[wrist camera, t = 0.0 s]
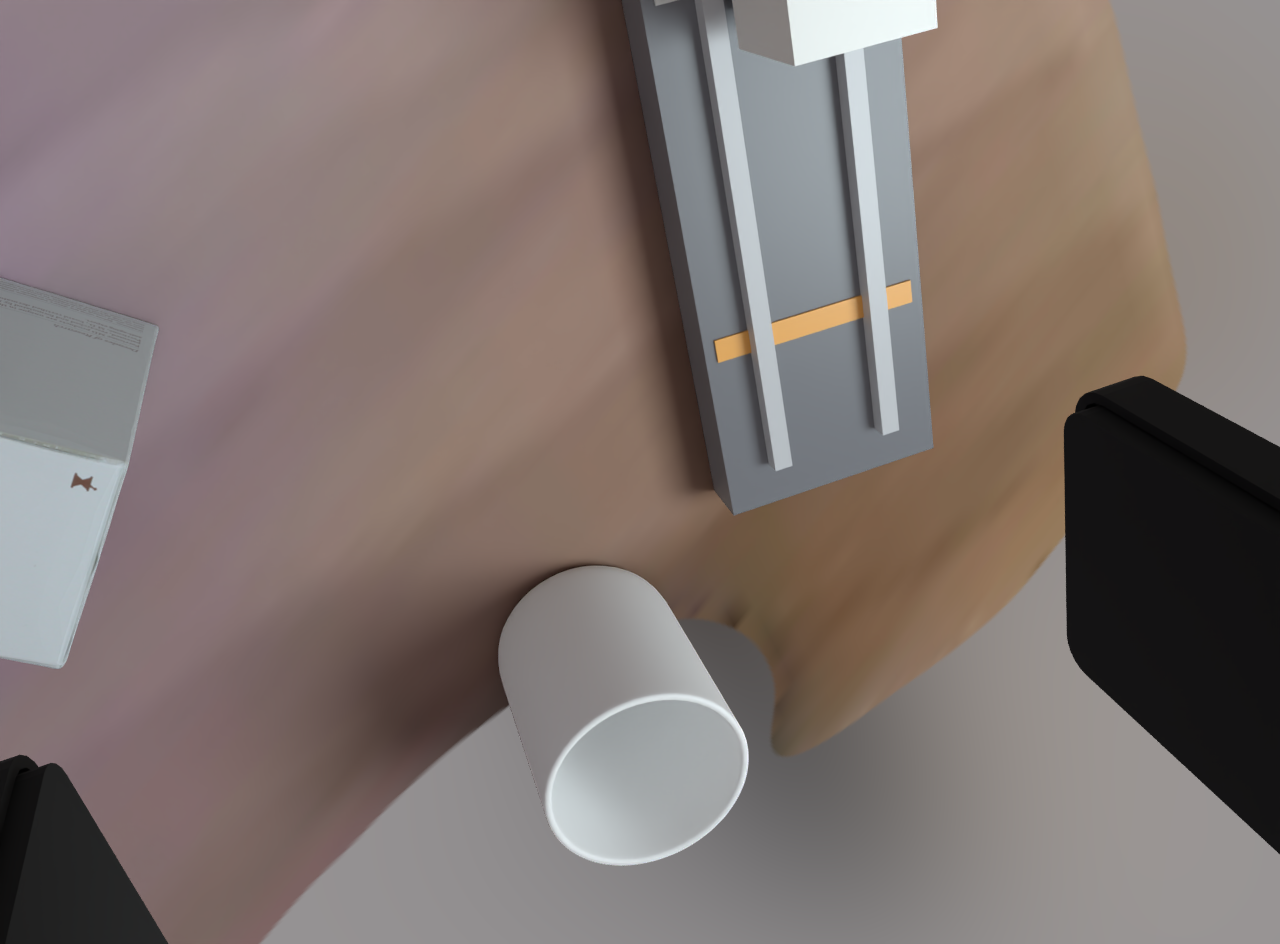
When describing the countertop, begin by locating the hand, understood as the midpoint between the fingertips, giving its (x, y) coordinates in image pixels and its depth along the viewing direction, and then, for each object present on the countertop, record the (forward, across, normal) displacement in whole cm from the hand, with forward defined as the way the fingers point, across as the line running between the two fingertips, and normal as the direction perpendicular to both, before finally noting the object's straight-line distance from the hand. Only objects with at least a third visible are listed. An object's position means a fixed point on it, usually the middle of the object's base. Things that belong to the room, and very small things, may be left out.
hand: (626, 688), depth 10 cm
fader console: (+37, -16, +7) cm, 41 cm away
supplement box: (+37, +14, +7) cm, 40 cm away
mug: (+37, -4, +28) cm, 47 cm away
